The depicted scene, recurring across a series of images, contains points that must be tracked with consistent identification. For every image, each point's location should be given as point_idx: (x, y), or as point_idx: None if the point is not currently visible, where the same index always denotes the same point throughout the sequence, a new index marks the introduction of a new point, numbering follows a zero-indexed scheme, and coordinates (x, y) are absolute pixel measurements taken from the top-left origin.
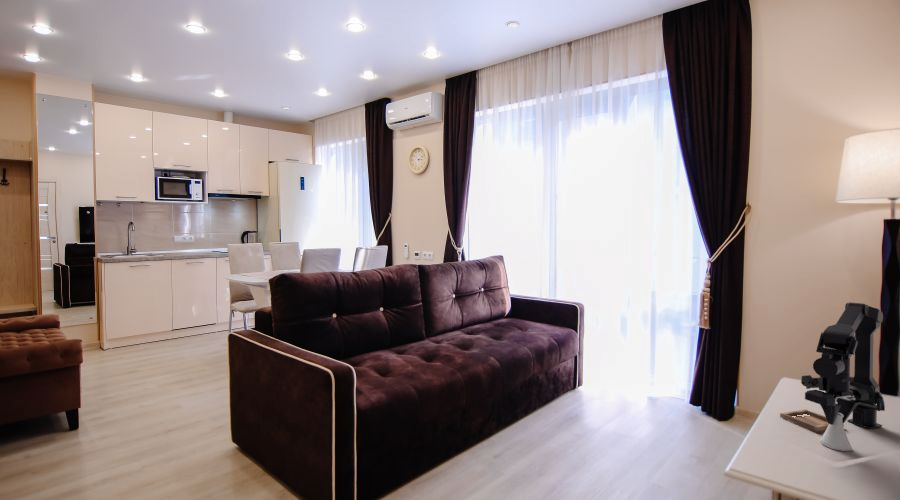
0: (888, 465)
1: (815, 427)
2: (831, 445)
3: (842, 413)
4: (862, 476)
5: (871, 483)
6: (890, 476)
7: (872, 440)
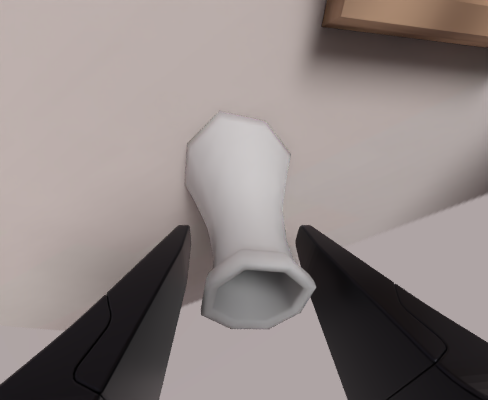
0: None
1: (341, 2)
2: (187, 184)
3: (329, 296)
4: None
5: None
6: None
7: (422, 180)
